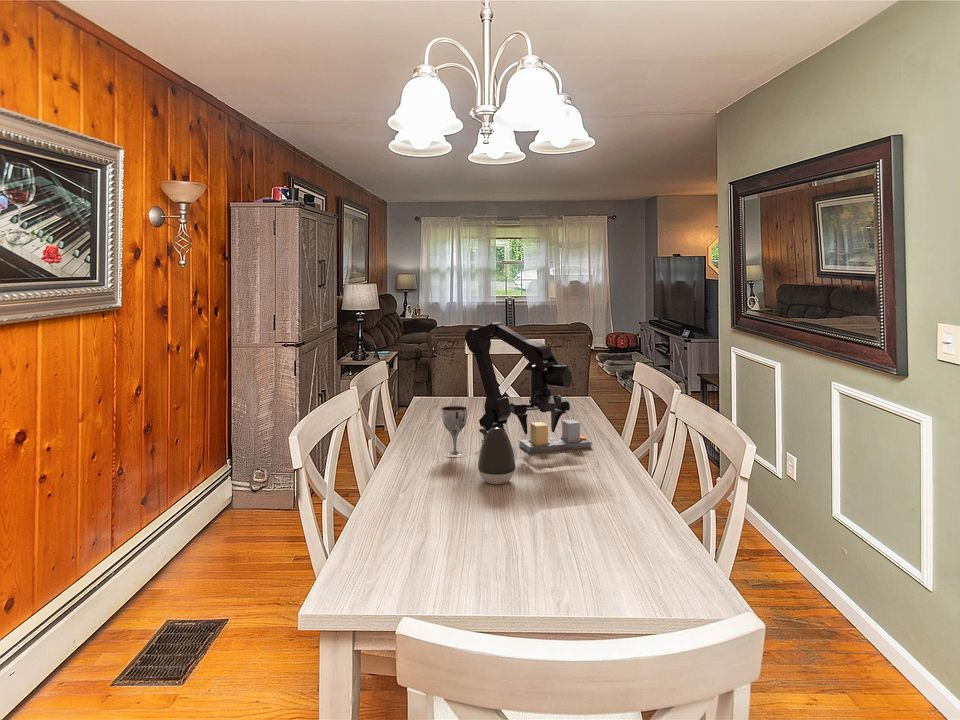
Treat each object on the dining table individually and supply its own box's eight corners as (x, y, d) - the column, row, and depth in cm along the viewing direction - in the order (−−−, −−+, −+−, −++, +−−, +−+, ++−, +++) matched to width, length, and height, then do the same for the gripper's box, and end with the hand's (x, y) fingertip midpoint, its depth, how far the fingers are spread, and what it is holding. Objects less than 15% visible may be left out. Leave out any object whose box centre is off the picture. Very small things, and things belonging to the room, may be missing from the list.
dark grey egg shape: (489, 474, 190) (488, 421, 188) (521, 479, 184) (521, 425, 182) (470, 483, 181) (470, 429, 179) (504, 489, 176) (504, 433, 174)
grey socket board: (529, 456, 207) (529, 445, 206) (519, 449, 216) (519, 438, 215) (591, 451, 213) (591, 440, 212) (578, 443, 222) (578, 433, 221)
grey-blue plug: (568, 448, 213) (568, 423, 212) (562, 444, 217) (562, 420, 216) (579, 447, 214) (580, 422, 213) (573, 443, 219) (573, 419, 218)
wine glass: (455, 450, 216) (455, 404, 214) (472, 454, 210) (472, 407, 208) (437, 454, 210) (436, 408, 208) (454, 459, 204) (453, 411, 202)
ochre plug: (536, 451, 210) (536, 426, 209) (530, 447, 214) (530, 422, 213) (547, 450, 211) (547, 425, 210) (542, 446, 216) (542, 421, 214)
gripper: (520, 390, 200) (520, 441, 202) (577, 387, 205) (577, 436, 207) (508, 385, 210) (508, 433, 212) (562, 381, 215) (562, 428, 217)
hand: (539, 433), depth 212 cm, fingers open, 9 cm apart
